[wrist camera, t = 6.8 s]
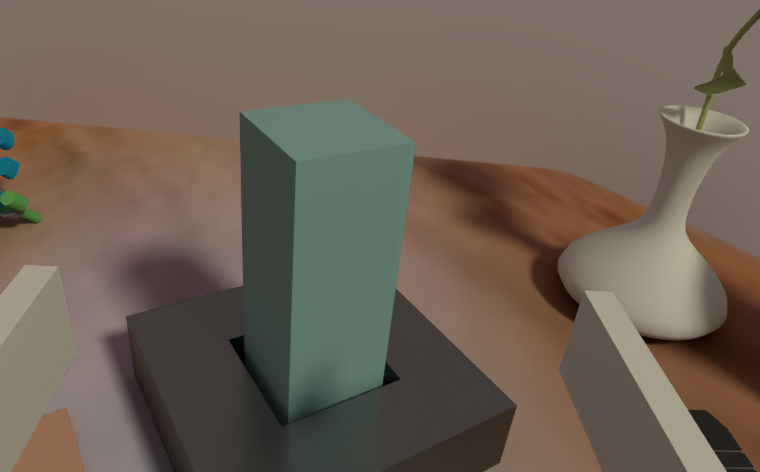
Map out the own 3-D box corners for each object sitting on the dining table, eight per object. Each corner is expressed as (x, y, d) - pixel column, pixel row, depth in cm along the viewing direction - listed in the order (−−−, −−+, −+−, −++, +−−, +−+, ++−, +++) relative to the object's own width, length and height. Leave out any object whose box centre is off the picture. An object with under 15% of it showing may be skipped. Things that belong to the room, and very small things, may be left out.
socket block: (134, 374, 33) (125, 316, 31) (355, 305, 40) (361, 254, 38) (230, 607, 23) (227, 545, 21) (499, 462, 31) (516, 405, 28)
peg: (245, 401, 32) (239, 111, 24) (328, 371, 35) (349, 99, 27) (286, 472, 29) (296, 161, 21) (375, 432, 31) (415, 142, 23)
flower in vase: (679, 383, 37) (902, -80, 24) (521, 293, 43) (630, -110, 31) (748, 302, 45) (940, -74, 32) (606, 236, 52) (720, -98, 39)
